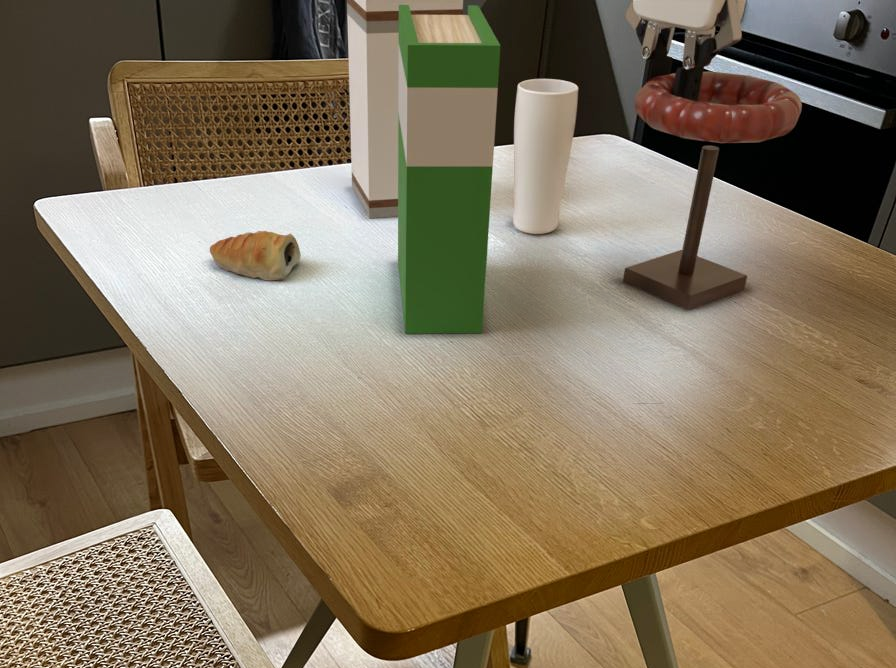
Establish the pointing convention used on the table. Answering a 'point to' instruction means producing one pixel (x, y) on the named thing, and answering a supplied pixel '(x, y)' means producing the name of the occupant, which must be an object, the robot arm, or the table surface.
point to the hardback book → (445, 167)
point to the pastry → (257, 254)
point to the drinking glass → (542, 151)
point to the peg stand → (689, 256)
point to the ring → (720, 108)
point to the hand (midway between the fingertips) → (667, 106)
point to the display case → (379, 96)
